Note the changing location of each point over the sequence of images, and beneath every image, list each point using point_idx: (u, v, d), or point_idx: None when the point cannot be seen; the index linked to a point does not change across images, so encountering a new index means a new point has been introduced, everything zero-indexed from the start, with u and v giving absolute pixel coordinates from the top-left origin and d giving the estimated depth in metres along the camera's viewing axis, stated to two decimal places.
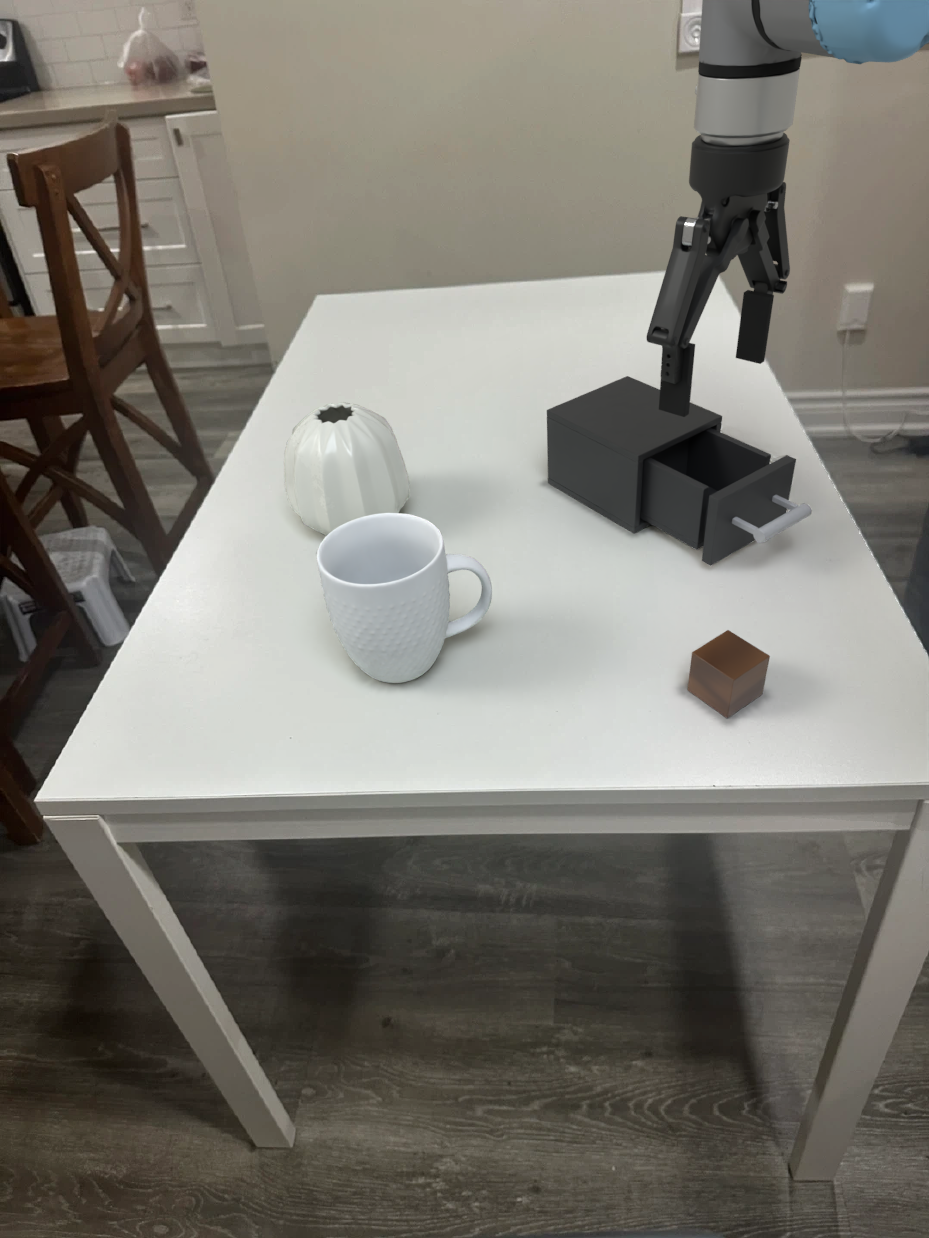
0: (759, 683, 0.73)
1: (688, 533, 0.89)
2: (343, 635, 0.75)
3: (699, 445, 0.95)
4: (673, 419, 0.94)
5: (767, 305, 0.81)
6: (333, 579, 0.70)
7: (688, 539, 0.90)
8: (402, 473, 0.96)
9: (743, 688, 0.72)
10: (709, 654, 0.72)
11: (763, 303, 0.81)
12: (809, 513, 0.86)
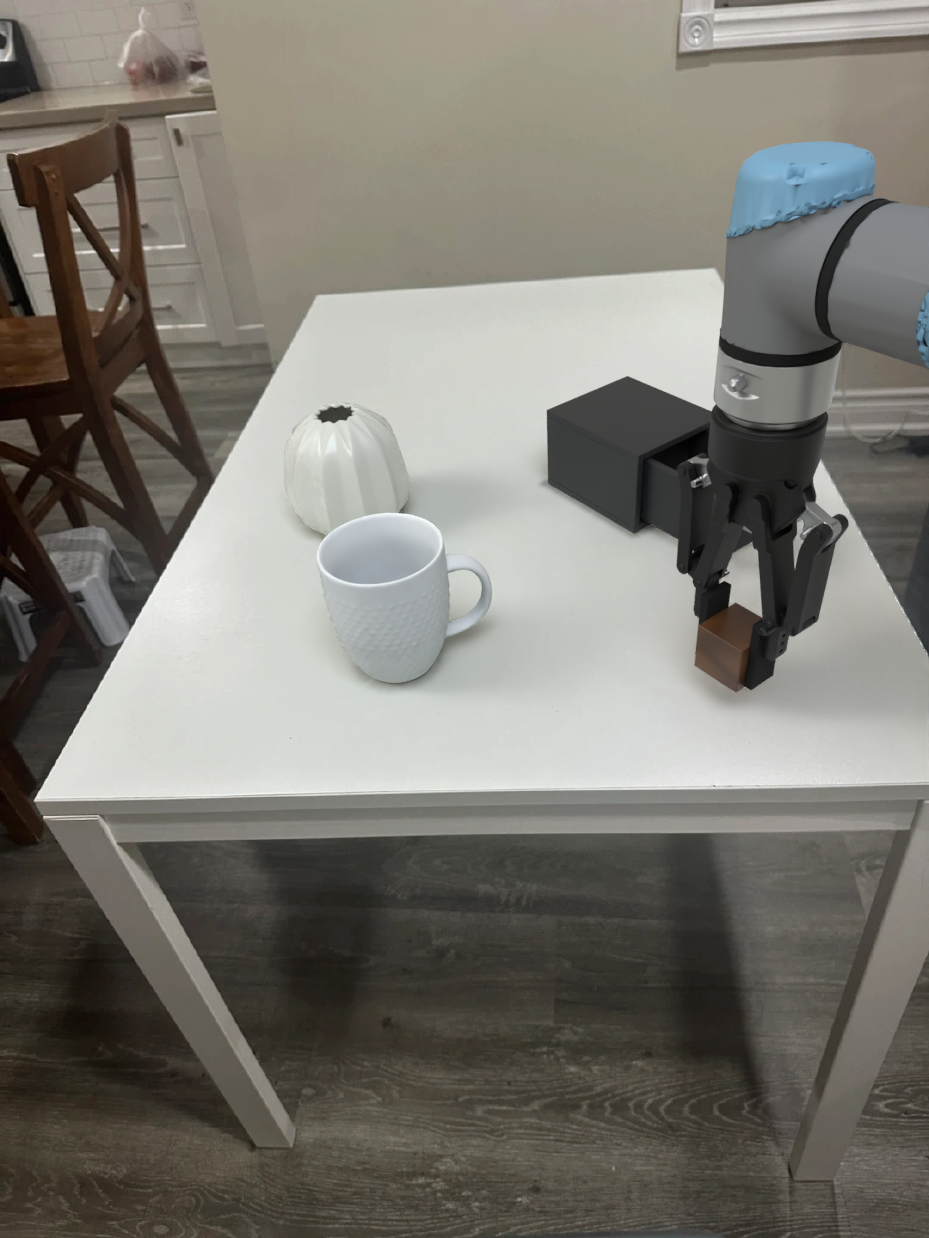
0: None
1: None
2: (343, 635, 0.75)
3: (699, 445, 0.95)
4: (673, 419, 0.94)
5: (728, 592, 0.71)
6: (333, 579, 0.70)
7: None
8: (401, 473, 0.96)
9: None
10: (716, 626, 0.70)
11: (725, 593, 0.71)
12: None
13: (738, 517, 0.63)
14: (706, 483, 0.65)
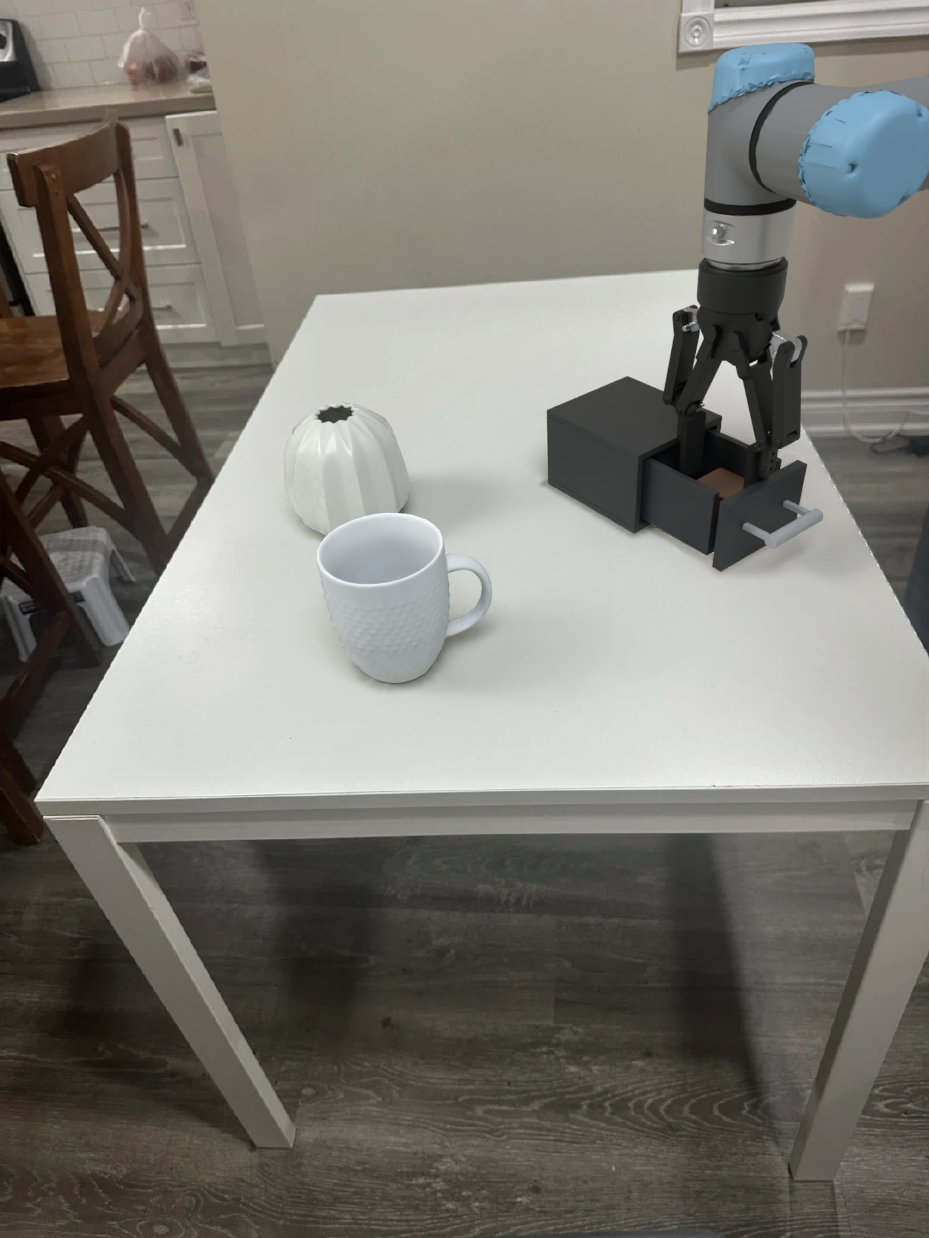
0: None
1: (698, 538, 0.88)
2: (343, 635, 0.75)
3: (708, 449, 0.94)
4: (673, 419, 0.94)
5: (704, 420, 0.89)
6: (333, 579, 0.70)
7: (698, 545, 0.89)
8: (402, 474, 0.96)
9: None
10: (705, 483, 0.89)
11: (702, 420, 0.89)
12: (821, 519, 0.85)
13: (721, 354, 0.81)
14: (694, 329, 0.83)
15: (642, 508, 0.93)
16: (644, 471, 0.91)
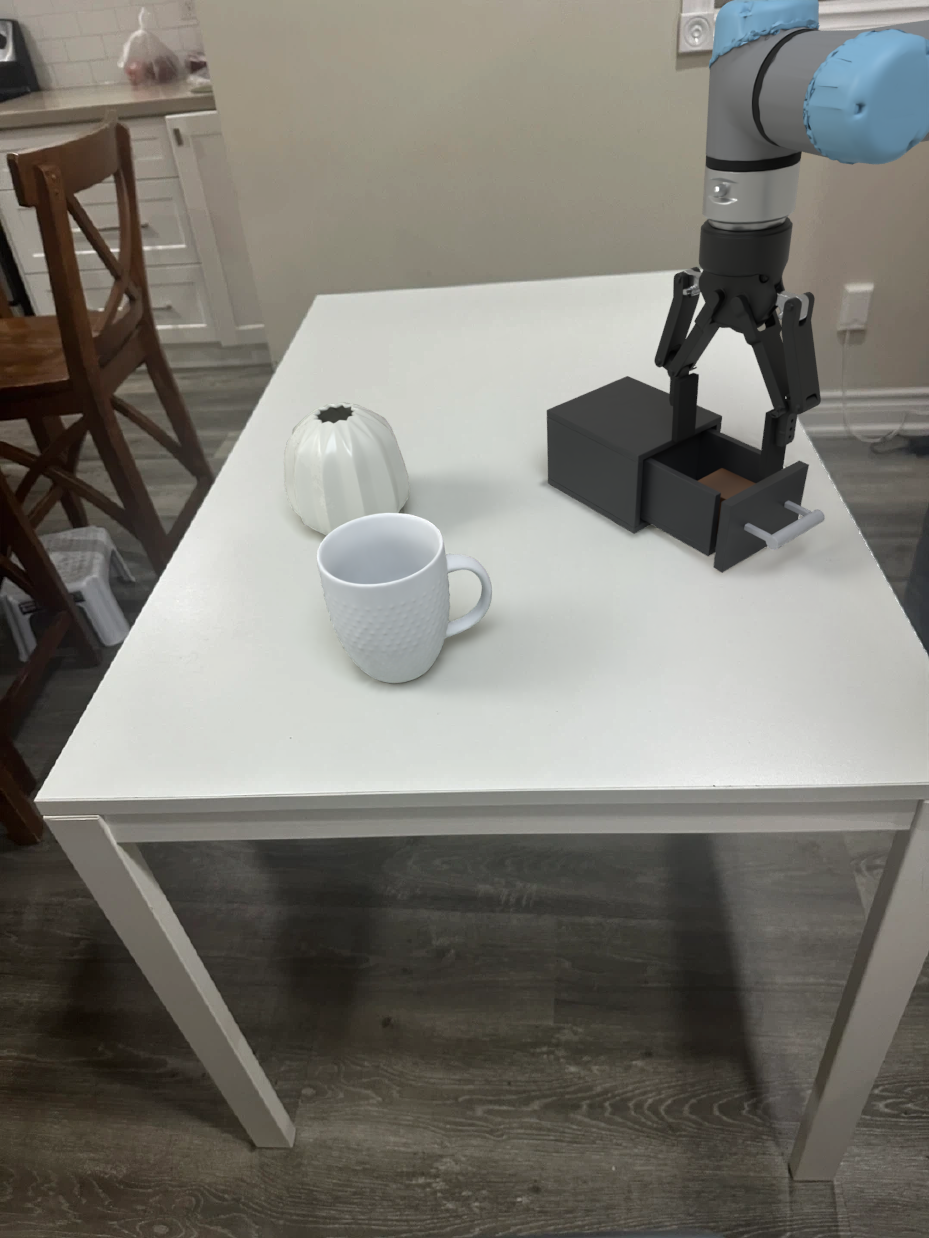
0: None
1: (699, 539, 0.88)
2: (343, 635, 0.75)
3: (710, 450, 0.94)
4: None
5: (697, 382, 0.87)
6: (333, 579, 0.70)
7: (699, 545, 0.89)
8: (402, 473, 0.96)
9: None
10: (706, 483, 0.89)
11: (694, 382, 0.87)
12: (822, 519, 0.85)
13: (724, 320, 0.79)
14: (694, 293, 0.81)
15: (643, 509, 0.93)
16: (645, 472, 0.90)
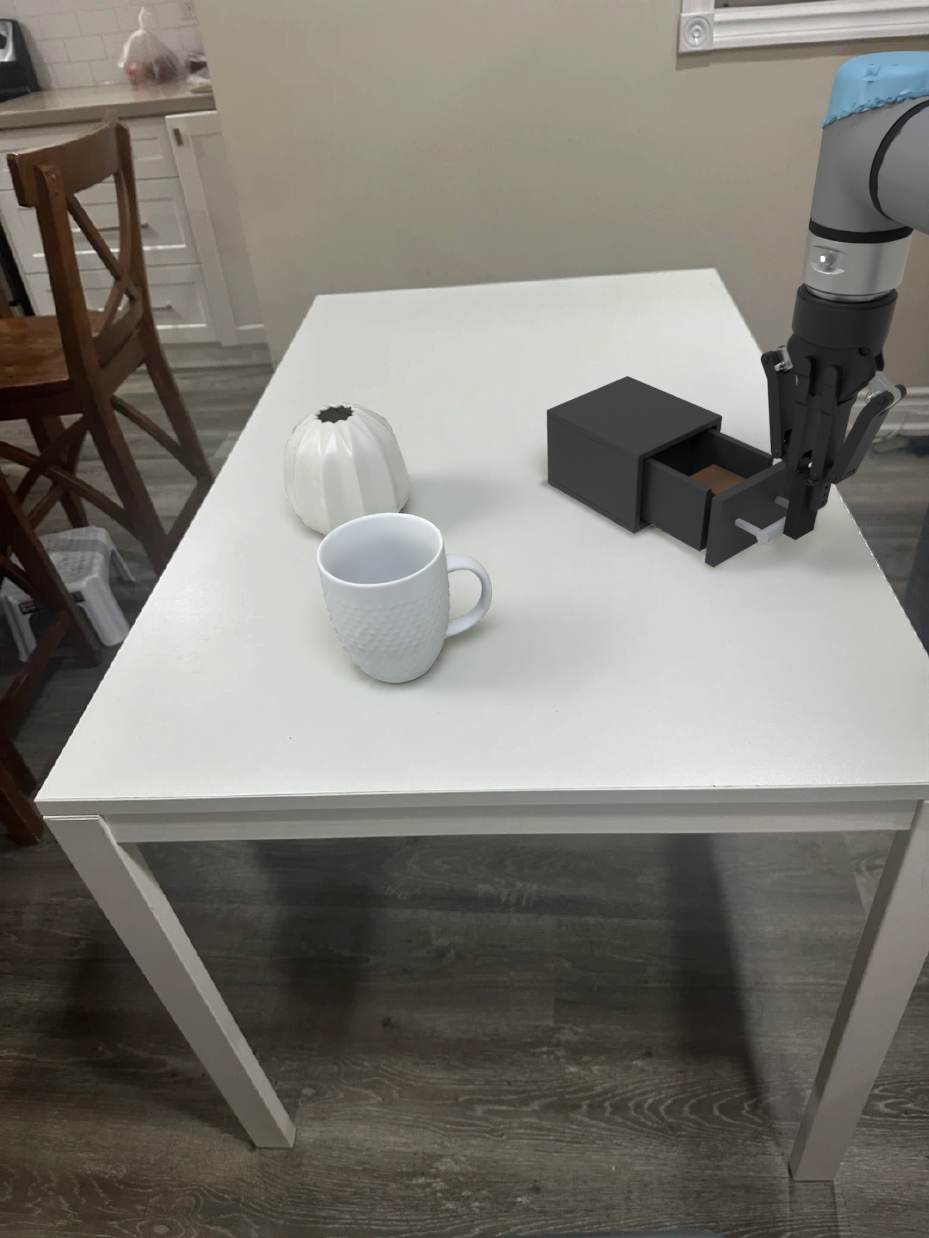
0: None
1: (691, 535, 0.89)
2: (343, 635, 0.75)
3: (702, 446, 0.95)
4: (673, 419, 0.94)
5: None
6: (333, 579, 0.70)
7: (691, 541, 0.89)
8: (402, 474, 0.96)
9: None
10: (698, 479, 0.90)
11: None
12: None
13: (814, 388, 0.74)
14: (788, 366, 0.76)
15: None
16: None
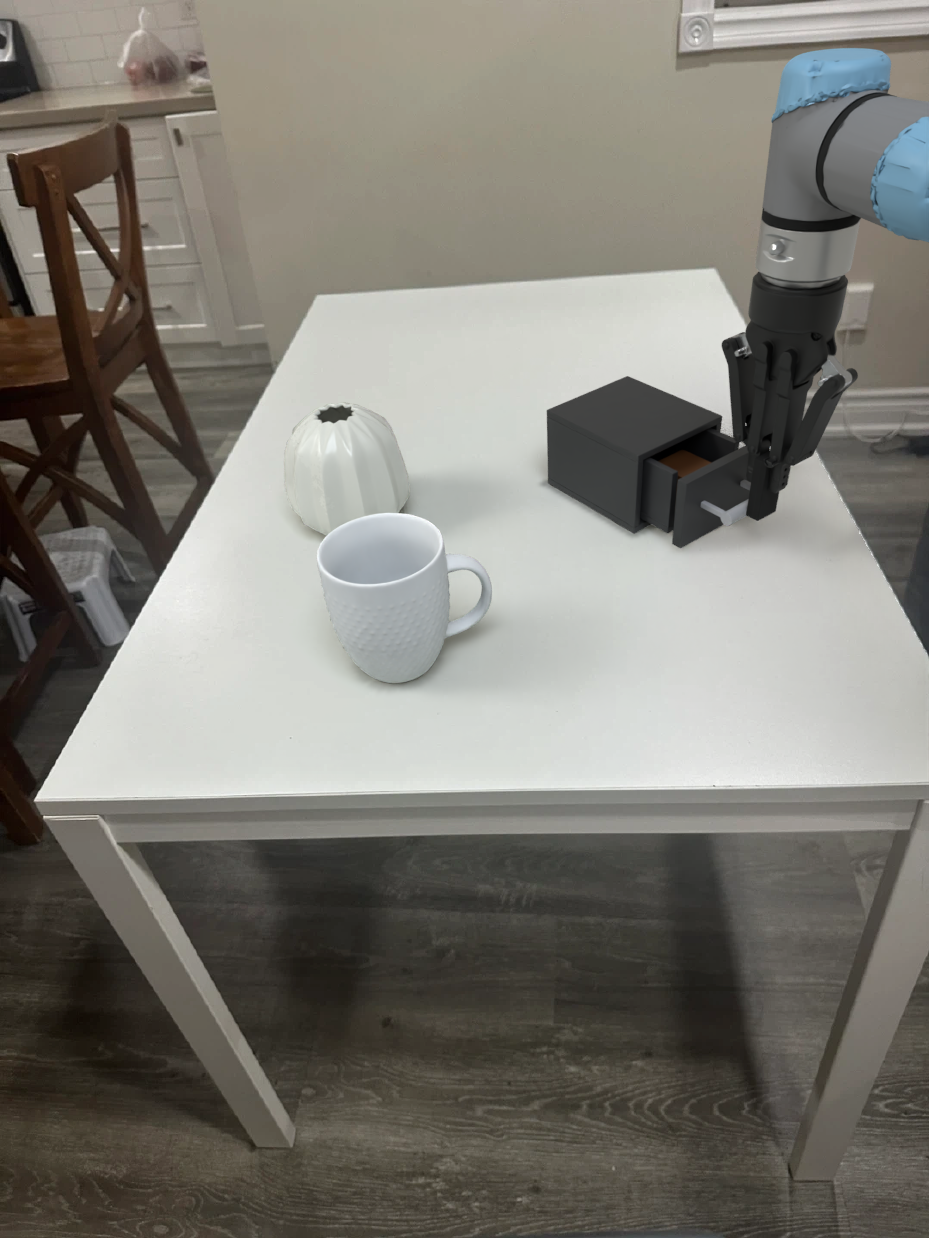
0: None
1: (659, 517, 0.92)
2: (343, 635, 0.75)
3: None
4: (673, 419, 0.94)
5: None
6: (333, 579, 0.70)
7: (659, 523, 0.92)
8: (402, 473, 0.96)
9: None
10: (666, 464, 0.93)
11: None
12: None
13: (771, 372, 0.77)
14: (747, 351, 0.79)
15: None
16: None
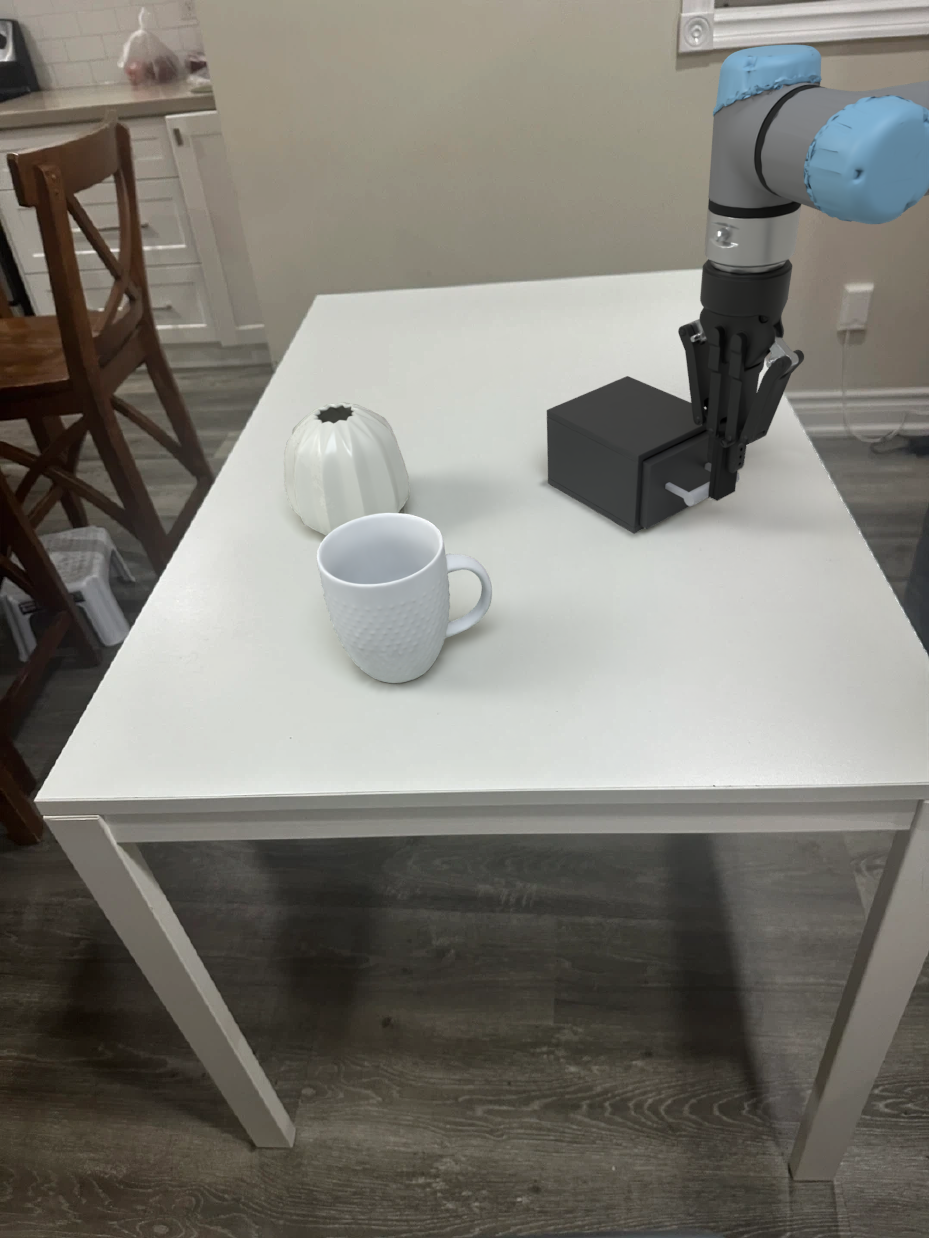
0: None
1: None
2: (343, 635, 0.75)
3: None
4: (673, 419, 0.94)
5: None
6: (333, 579, 0.70)
7: None
8: (402, 473, 0.96)
9: None
10: None
11: None
12: (737, 479, 0.91)
13: (724, 356, 0.80)
14: (702, 337, 0.82)
15: None
16: None
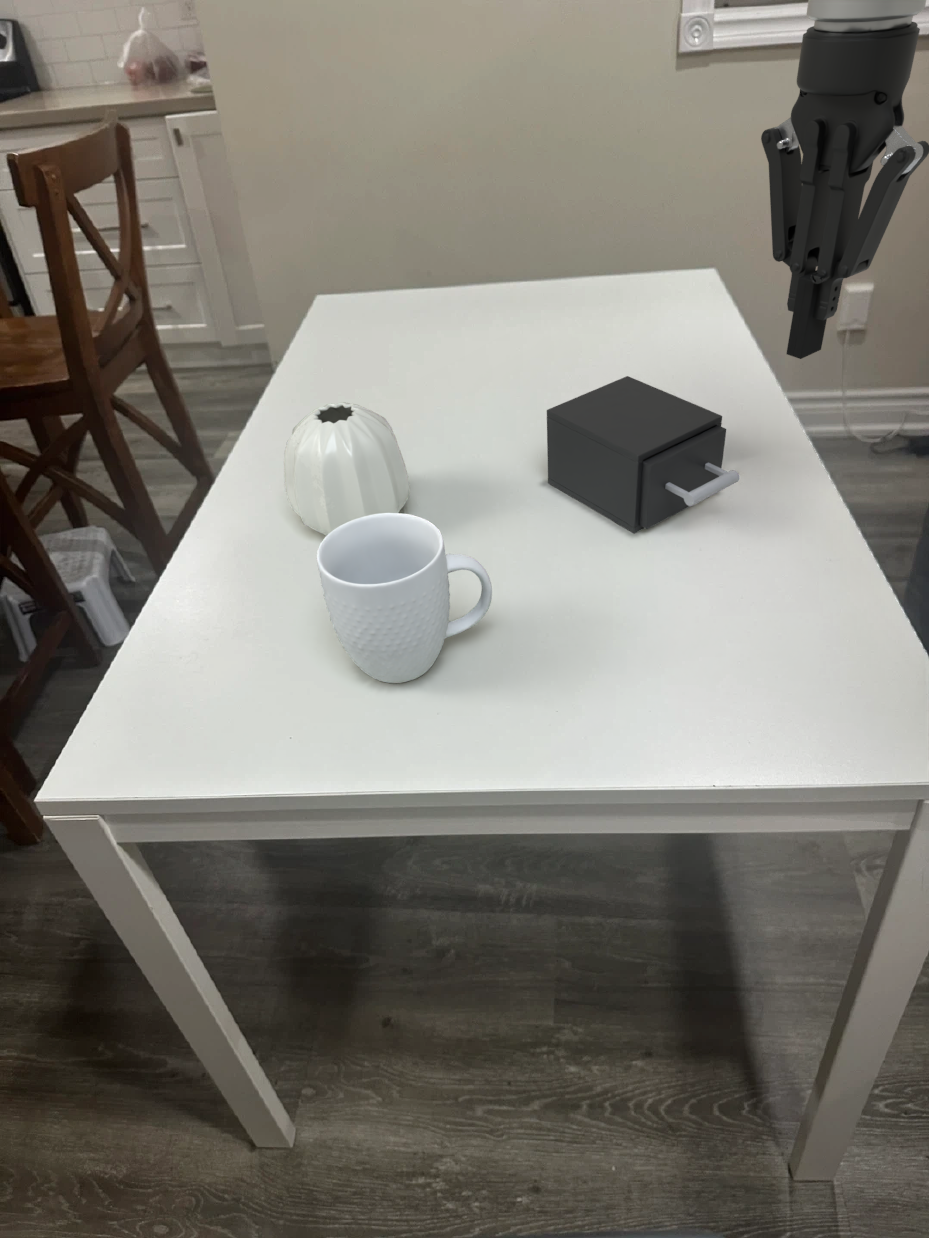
0: None
1: None
2: (343, 635, 0.75)
3: None
4: (673, 419, 0.94)
5: None
6: (333, 579, 0.70)
7: None
8: (402, 473, 0.96)
9: None
10: None
11: None
12: (737, 479, 0.91)
13: (822, 161, 0.65)
14: (792, 142, 0.67)
15: None
16: None
